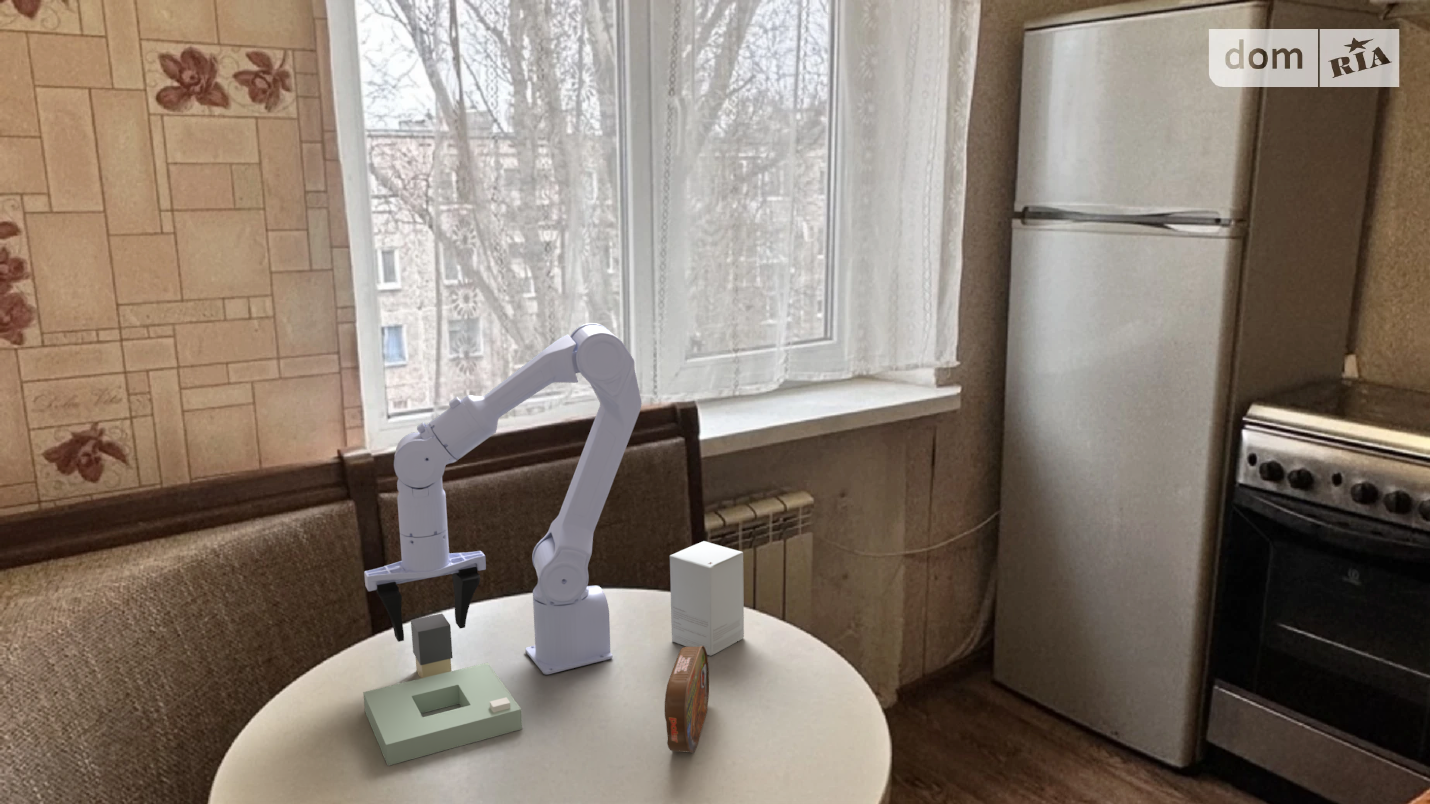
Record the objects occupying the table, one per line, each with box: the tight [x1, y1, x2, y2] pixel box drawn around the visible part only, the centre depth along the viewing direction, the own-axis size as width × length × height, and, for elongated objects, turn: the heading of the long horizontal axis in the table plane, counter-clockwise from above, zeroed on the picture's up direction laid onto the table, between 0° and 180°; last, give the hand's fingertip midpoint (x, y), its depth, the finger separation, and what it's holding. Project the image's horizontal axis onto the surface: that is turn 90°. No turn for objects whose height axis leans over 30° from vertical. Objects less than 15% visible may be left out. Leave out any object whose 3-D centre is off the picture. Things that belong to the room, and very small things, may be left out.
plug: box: [410, 613, 453, 679], centre depth 127 cm, size 4×4×7 cm
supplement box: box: [669, 540, 745, 656], centre depth 135 cm, size 7×7×13 cm
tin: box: [664, 646, 710, 754], centre depth 114 cm, size 15×3×8 cm, turn 172°
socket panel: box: [362, 662, 523, 766], centre depth 116 cm, size 15×13×3 cm
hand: (430, 631), depth 127 cm, fingers open, 7 cm apart
